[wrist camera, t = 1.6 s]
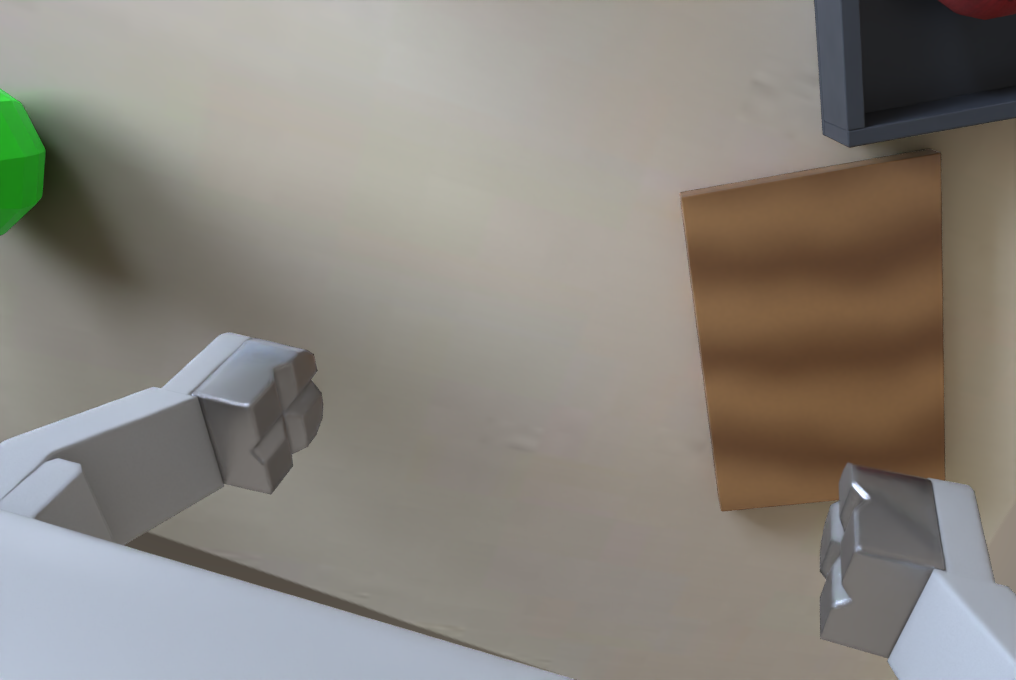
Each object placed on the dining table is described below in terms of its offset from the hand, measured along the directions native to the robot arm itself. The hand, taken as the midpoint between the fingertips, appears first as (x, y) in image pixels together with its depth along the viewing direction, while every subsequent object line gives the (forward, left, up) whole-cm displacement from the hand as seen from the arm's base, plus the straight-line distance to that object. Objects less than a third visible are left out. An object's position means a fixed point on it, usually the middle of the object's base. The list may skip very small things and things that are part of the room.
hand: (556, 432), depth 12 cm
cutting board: (+14, +10, -34) cm, 38 cm away
